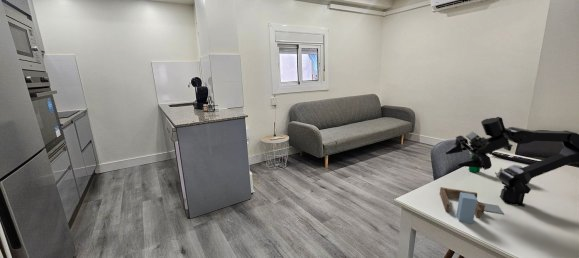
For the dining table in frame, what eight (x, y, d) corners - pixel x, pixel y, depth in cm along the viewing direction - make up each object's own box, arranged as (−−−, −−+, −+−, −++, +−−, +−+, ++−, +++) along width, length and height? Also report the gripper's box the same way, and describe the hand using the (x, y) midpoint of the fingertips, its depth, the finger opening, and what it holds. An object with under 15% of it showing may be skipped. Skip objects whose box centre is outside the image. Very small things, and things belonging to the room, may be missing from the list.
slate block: (469, 217, 94) (473, 194, 91) (472, 223, 90) (477, 199, 87) (456, 214, 95) (460, 192, 93) (458, 221, 92) (462, 197, 89)
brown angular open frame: (475, 199, 106) (476, 192, 105) (487, 219, 92) (488, 211, 91) (439, 193, 112) (440, 187, 111) (445, 211, 98) (446, 204, 97)
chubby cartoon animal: (498, 180, 130) (493, 164, 131) (528, 178, 122) (523, 162, 122) (497, 184, 126) (492, 168, 126) (528, 182, 117) (523, 166, 117)
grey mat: (497, 206, 101) (498, 205, 101) (504, 214, 95) (504, 213, 95) (479, 202, 104) (479, 202, 104) (483, 210, 98) (484, 210, 98)
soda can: (481, 173, 132) (485, 153, 129) (471, 173, 133) (474, 152, 130) (476, 170, 137) (480, 150, 134) (466, 169, 138) (470, 149, 135)
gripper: (472, 120, 106) (436, 134, 110) (504, 141, 89) (460, 157, 93) (477, 139, 110) (442, 152, 114) (508, 162, 93) (466, 177, 97)
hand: (451, 158), depth 104 cm, fingers open, 9 cm apart
